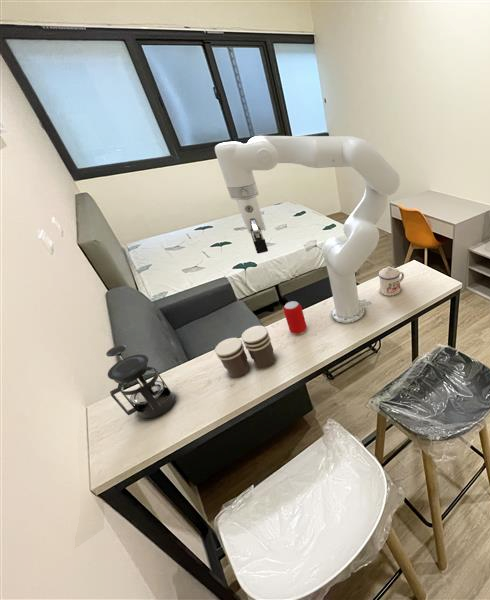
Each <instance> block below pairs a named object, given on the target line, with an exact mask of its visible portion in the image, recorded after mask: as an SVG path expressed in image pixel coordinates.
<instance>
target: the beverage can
mask: <svg viewBox="0 0 490 600" xmlns="http://www.w3.org/2000/svg"><path fill="white" fill-rule="evenodd" d="M283 313H284V317H285V320H286V324H287V326H288V329H289V332H290V333H291V334H292V335H300V334H301V335H302V334H303V333H305V332H306V331H307V328H308V326H307V321H306V319H305V315H304V311H303V308H302V305H301V304H300V303H299V302H298V301H295V300H293V301H292V300H291V301H288V302H286V303H285V305H284V306H283Z"/></svg>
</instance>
